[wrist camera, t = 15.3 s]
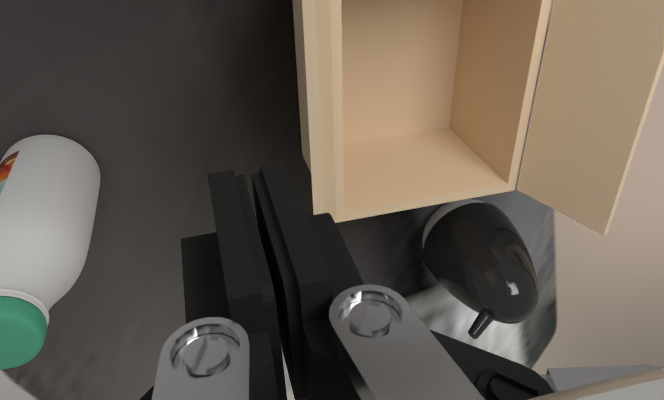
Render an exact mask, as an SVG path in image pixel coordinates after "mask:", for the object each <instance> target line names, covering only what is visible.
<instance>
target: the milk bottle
mask: <svg viewBox="0 0 664 400" xmlns="http://www.w3.org/2000/svg"><path fill="white" fill-rule="evenodd" d="M99 188H100V170H99V167H98V164H97V162H96V161H95V159H94V157H93V156H92V155H91V154H90V153H89V152H88V151H87V150H86V149H85V148H84V147H83V146H81V145H80V144H78V143H76V142H75V141H73V140H71V139H68V138H65V137H62V136H57V135H46V134H43V135H35V136H31V137H27V138H24V139H22V140H20V141H18V142H17V143H15V144H14V145H12V146H11V147H10V148H9V149H8V151H7V152H6V153H5V155H4V157H3V158H2V160H1V162H0V369H8V368H14V367H17V366H20V365H23V364H25V363H27V362H29V361H30V360H32V359H33V358H34V357H35V356H36V355H37V354H38V353H39V351H40V350H41V348H42V346H43V344H44V341H45V337H46V332H47V326H48V323H49V313H48V311H49V309H50V308H51V307H52V306H53V305H54V304H55V303H56V302H57V301H58V300H59V299H60V298H62V297H63V296H64V295H65V294H66V293H67V292H68V291H69V290H70V288H71V287H72V286H73V285H74V283H75V282H76V280H77V279H78V277H79V275H80V273H81V271H82V269H83V266H84V264H85V261H86V257H87V253H88V249H89V245H90V240H91V234H92V229H93V224H94V218H95V212H96V206H97V201H98V194H99Z"/></svg>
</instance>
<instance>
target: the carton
mask: <svg viewBox="0 0 664 400" xmlns="http://www.w3.org/2000/svg"><path fill="white" fill-rule="evenodd" d="M292 1H293V17H294V33H295V49H296V65H297V80H298V96H299V112H300V128H301V144H302V155H303V157H304V159H305V161H306V164H307V166H308V168H309V170H310V172H311V158H310V140H309V121H308V102H307V84H306V65H305V46H304V28H303V9H302V0H292ZM551 4H552V0H330V32H331V70H332V109H333V148H334V186H335V223H338V222H343V221H349V220H354V219H360V218H365V217H371V216H376V215H382V214H387V213H392V212H398V211H403V210H409V209H414V208H420V207H425V206H431V205H436V204H442V203H447V202H453V201H458V200H464V199H469V198H475V197H480V196H486V195H491V194H497V193H502V192H508V191H513V190H515V186H516V181H517V176H518V171H519V166H520V161H521V156H522V151H523V146H524V141H525V136H526V131H527V126H528V120H529V115H530V110H531V105H532V100H533V95H534V90H535V85H536V80H537V75H538V70H539V65H540V60H541V54H542V49H543V44H544V39H545V34H546V29H547V24H548V19H549V14H550V9H551Z"/></svg>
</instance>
